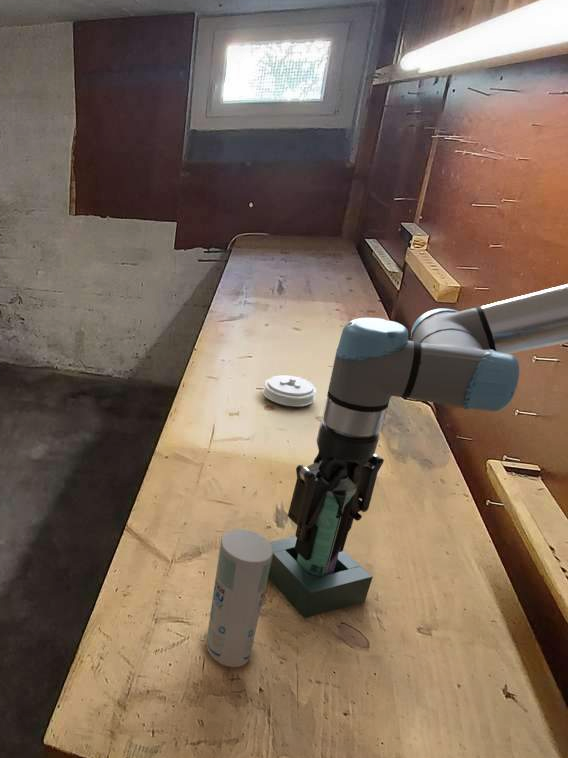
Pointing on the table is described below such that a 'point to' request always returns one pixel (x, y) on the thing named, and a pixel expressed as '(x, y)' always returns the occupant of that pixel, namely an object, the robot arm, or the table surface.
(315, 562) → the spray can
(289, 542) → the holder
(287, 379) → the lid
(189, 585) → the table surface
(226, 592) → the spray can
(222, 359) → the table surface
